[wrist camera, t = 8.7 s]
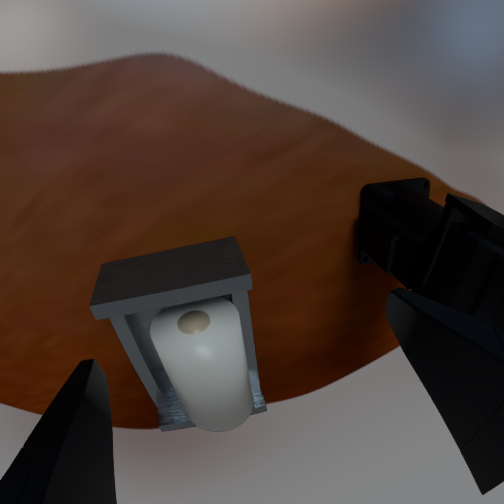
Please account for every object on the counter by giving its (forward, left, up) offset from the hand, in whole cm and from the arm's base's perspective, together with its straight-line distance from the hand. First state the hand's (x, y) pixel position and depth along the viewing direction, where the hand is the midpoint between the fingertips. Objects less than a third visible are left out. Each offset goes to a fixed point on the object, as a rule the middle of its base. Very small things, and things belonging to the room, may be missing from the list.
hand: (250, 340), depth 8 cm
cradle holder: (+3, +10, -12) cm, 16 cm away
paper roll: (+3, +11, -11) cm, 15 cm away
